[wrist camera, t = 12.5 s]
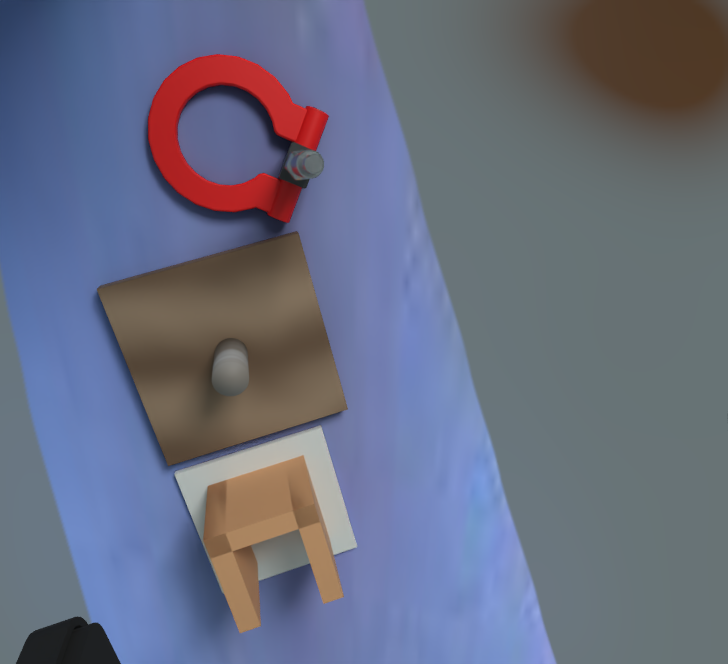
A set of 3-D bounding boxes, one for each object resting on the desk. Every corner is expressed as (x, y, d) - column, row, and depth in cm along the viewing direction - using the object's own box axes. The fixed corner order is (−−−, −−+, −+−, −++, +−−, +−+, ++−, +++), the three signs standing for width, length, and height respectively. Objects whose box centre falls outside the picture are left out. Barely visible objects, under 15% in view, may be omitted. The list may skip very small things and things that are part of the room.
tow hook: (131, 177, 35) (284, 236, 37) (60, 182, 22) (295, 270, 25) (178, 31, 33) (334, 102, 35) (128, -51, 21) (373, 66, 23)
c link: (207, 485, 40) (203, 540, 34) (303, 455, 41) (314, 503, 35) (239, 569, 42) (240, 633, 37) (329, 538, 43) (343, 596, 37)
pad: (175, 471, 40) (174, 474, 39) (320, 425, 41) (321, 427, 40) (222, 589, 43) (222, 593, 42) (356, 543, 44) (357, 546, 44)
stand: (100, 285, 35) (77, 308, 30) (296, 231, 37) (306, 243, 32) (170, 458, 39) (159, 504, 34) (345, 403, 41) (361, 439, 36)
